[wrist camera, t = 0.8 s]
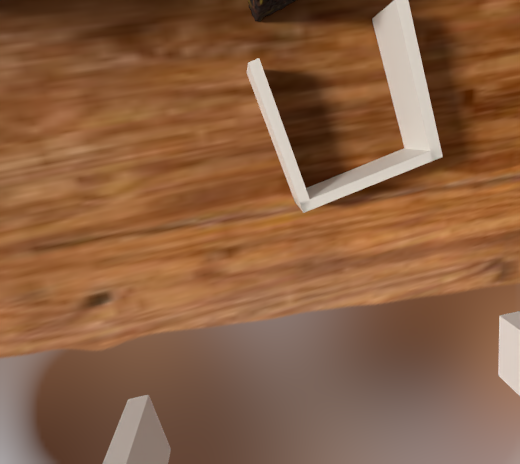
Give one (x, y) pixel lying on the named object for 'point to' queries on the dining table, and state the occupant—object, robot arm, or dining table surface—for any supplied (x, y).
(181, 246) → the dining table surface
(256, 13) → the candle
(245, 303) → the dining table surface
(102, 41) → the dining table surface
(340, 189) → the frame
